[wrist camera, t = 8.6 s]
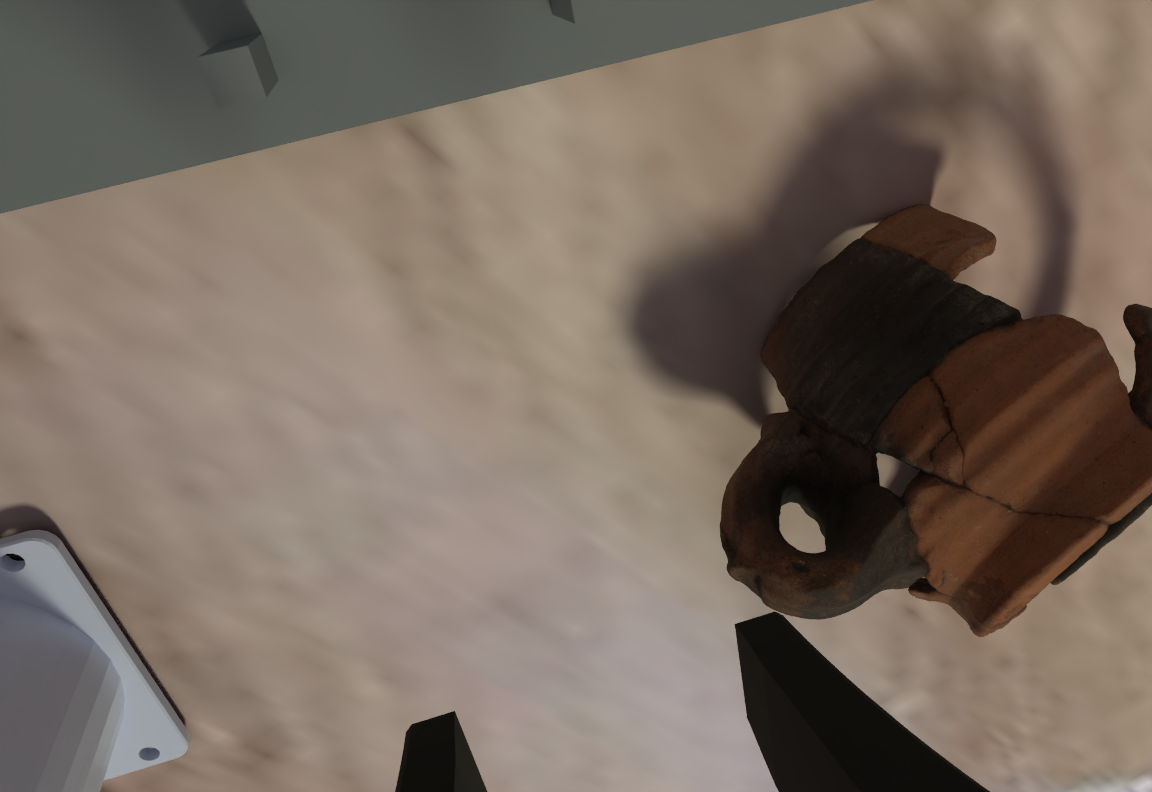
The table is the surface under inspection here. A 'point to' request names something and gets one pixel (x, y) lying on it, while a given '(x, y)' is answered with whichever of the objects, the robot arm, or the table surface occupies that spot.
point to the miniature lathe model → (291, 71)
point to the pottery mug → (936, 436)
